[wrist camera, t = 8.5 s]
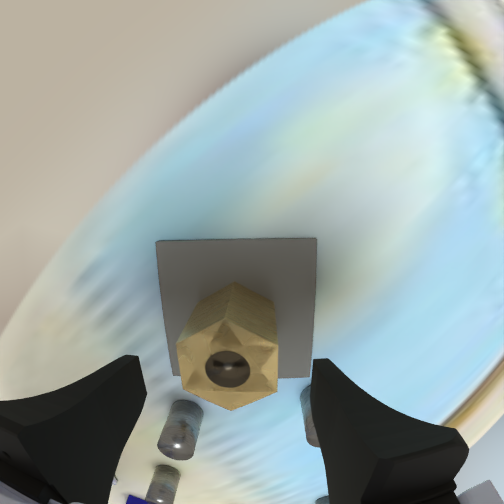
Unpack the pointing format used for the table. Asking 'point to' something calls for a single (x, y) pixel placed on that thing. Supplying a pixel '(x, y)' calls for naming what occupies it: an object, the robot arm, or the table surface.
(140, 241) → the table surface
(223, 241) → the mat
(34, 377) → the table surface
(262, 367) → the brass nut
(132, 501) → the cable clip
